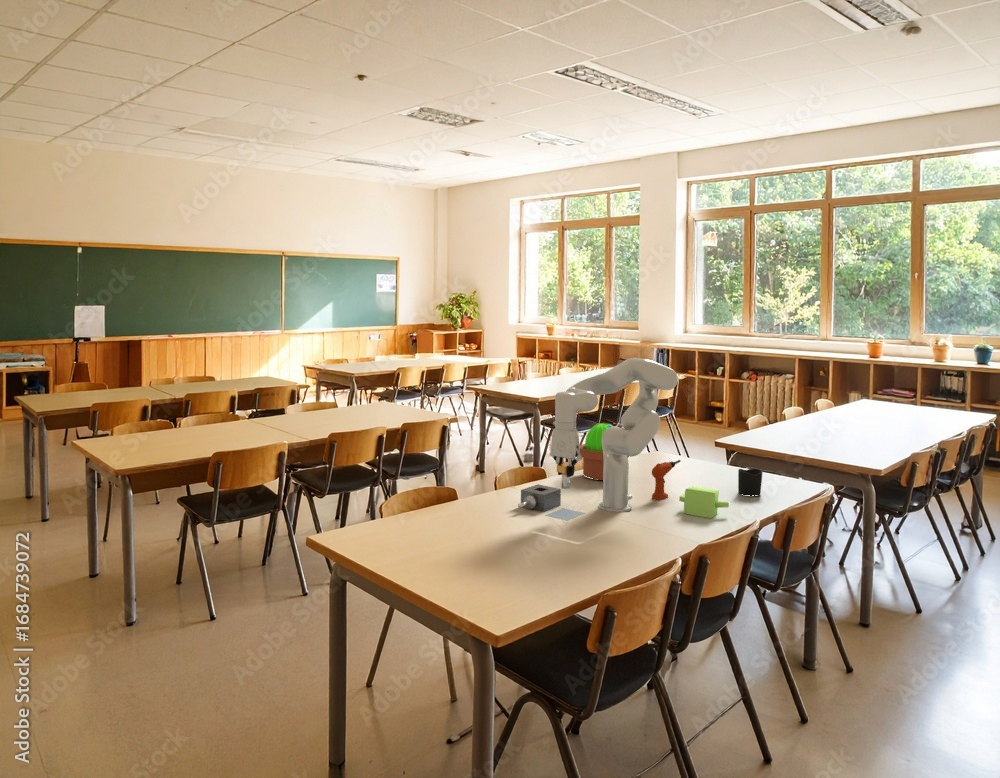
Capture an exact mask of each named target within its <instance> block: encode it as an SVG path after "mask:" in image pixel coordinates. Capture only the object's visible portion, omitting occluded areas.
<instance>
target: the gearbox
mask: <svg viewBox="0 0 1000 778" xmlns="http://www.w3.org/2000/svg"><path fill="white" fill-rule="evenodd" d="M719 493H720V491H719V490H718V489H713V488H706V487H700V486H694V485H693V486H692V485H691V486H690V487H687V488H686V489H685V490H684V493H683V494H682V495H680V496H679V498H678V499H679V502H681V503H682V502H683V514H687V515H692V516H696V517H703V518H709V519H712V518H714V517H715V516H716V515H717V514H718V509H720V508H729V506H730V504H729V502H728V501H719V495H720V494H719Z"/></svg>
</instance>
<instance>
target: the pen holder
mask: <svg viewBox="0 0 1000 778" xmlns="http://www.w3.org/2000/svg"><path fill="white" fill-rule="evenodd" d="M737 472H738V475H737V476H738V479H737V480H738V481H737V482H738V485H737V486H738V494H739V495H740V494H743V495H750V496H752V495H754V496H755V495H759V496H760V495H761V492H762V491H761V490H762V483H763V482H762V481H763V470H761V469H758V468H750V469H743V468H738V471H737ZM743 495H742V496H743Z"/></svg>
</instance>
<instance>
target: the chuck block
mask: <svg viewBox="0 0 1000 778" xmlns="http://www.w3.org/2000/svg"><path fill="white" fill-rule="evenodd" d="M561 495H562V488H557V487H553V486H549V485H543V484H539V483H538V484H535V485H531V486H529V487H525V488H522V489H520V503H518V504H517V507H518V508H519V509H520V508H525V509H526V508H527V509H528V510H535V511H539V512H543V513H544V512H547V511H550V510H552V509H554V508H557V507H560V506H561V504H562V503H561V502H562V501H561V499H562V498H561V497H562V496H561Z"/></svg>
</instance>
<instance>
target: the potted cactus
mask: <svg viewBox="0 0 1000 778" xmlns="http://www.w3.org/2000/svg"><path fill="white" fill-rule="evenodd" d="M610 427H615V426H614V425H612V424H611V423H606V422H602V423H597V424H594V425H593V426H592V427H591V428H589V430H588V431H587V433H586V435H585V441H584V443H582V444H580V454H581V456H582V460H583V462H582V464H583V469H582V475H583V474H584V475H585V476H587V477H590V478H593V479H598V480H603V469H604V456H603V448H602V435H603V433H604V431H605V430H606V429H608V428H610ZM627 457H628V458H629V456H627Z"/></svg>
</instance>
